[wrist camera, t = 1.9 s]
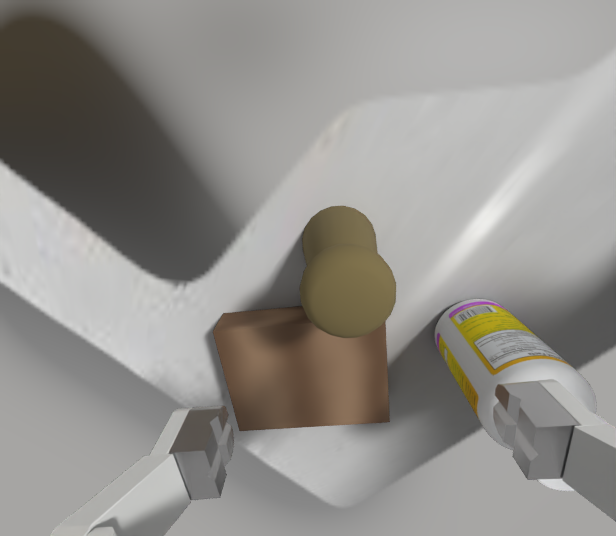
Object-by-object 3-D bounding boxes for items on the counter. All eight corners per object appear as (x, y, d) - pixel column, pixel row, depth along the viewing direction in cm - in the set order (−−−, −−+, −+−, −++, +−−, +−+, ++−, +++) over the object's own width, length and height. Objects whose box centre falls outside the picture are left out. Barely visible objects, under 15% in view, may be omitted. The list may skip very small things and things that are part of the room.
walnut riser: (378, 299, 28) (385, 316, 25) (383, 397, 32) (389, 422, 29) (223, 313, 29) (212, 331, 26) (246, 406, 33) (239, 430, 30)
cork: (369, 279, 27) (399, 361, 17) (299, 273, 27) (285, 351, 17) (381, 209, 25) (424, 254, 15) (305, 202, 25) (293, 242, 15)
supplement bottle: (478, 369, 30) (582, 519, 18) (417, 342, 29) (485, 480, 17) (525, 313, 28) (681, 443, 16) (461, 283, 27) (573, 394, 15)
